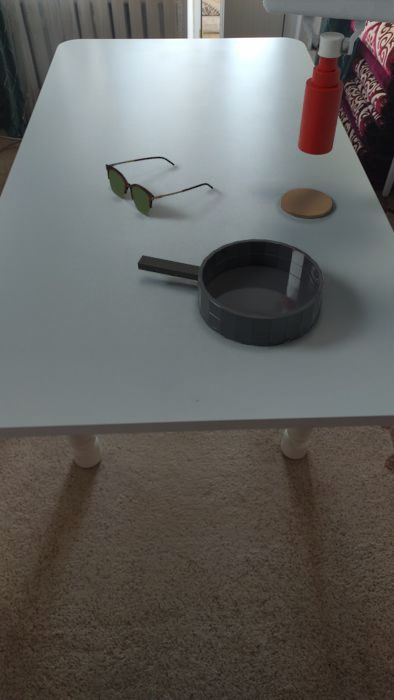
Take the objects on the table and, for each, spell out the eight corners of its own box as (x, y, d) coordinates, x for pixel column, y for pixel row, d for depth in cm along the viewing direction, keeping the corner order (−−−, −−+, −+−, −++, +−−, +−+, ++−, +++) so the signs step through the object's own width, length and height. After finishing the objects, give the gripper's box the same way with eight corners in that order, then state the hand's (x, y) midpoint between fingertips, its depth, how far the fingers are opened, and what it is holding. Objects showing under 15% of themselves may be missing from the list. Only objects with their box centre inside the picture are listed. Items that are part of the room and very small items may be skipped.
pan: (326, 277, 83) (332, 250, 79) (306, 357, 72) (312, 330, 68) (217, 257, 87) (218, 230, 83) (182, 330, 75) (181, 302, 72)
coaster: (335, 195, 99) (335, 192, 98) (327, 222, 93) (328, 219, 93) (285, 187, 101) (286, 184, 100) (275, 213, 95) (275, 210, 95)
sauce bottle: (334, 141, 90) (354, 31, 78) (329, 157, 87) (349, 43, 75) (301, 137, 92) (315, 27, 80) (294, 152, 88) (309, 40, 76)
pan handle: (203, 273, 80) (203, 266, 79) (198, 281, 78) (198, 275, 78) (143, 261, 82) (142, 254, 81) (138, 269, 80) (137, 262, 80)
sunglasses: (106, 188, 101) (104, 162, 98) (169, 168, 108) (170, 143, 105) (153, 221, 93) (153, 194, 90) (217, 197, 101) (220, 172, 97)
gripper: (261, -67, 69) (254, 52, 79) (431, -58, 64) (400, 66, 75) (272, -77, 73) (264, 38, 83) (432, -69, 69) (403, 51, 79)
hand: (329, 51), depth 79 cm, fingers closed on sauce bottle, 3 cm apart
